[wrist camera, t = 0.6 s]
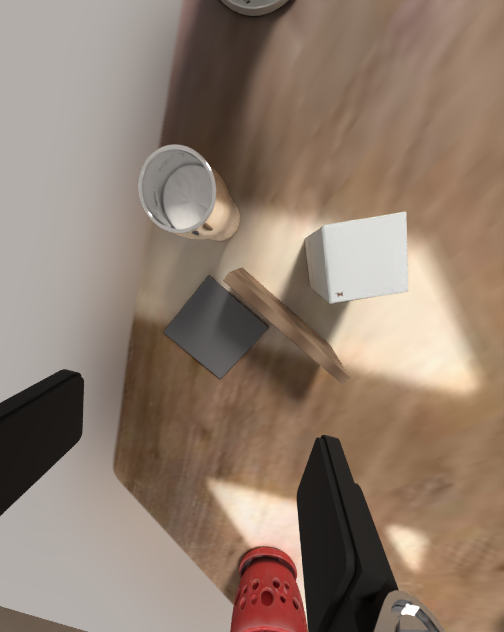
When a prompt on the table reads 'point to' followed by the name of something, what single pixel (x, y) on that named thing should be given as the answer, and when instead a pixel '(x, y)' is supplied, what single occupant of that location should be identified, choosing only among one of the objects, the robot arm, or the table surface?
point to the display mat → (215, 327)
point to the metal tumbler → (186, 195)
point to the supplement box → (359, 258)
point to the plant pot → (268, 594)
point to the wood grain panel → (286, 322)
